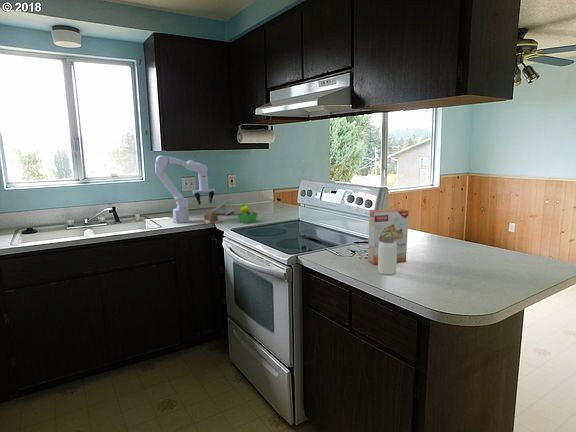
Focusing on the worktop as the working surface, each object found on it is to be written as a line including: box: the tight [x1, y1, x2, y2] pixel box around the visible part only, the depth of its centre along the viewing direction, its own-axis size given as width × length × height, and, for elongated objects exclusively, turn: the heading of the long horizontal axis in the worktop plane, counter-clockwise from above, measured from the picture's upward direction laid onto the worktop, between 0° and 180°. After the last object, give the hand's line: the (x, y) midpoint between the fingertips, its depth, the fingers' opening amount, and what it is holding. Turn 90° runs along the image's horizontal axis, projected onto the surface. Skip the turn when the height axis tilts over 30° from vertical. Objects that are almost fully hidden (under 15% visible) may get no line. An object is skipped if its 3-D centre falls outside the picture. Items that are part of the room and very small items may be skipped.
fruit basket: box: [237, 203, 258, 224], centre depth 238 cm, size 11×9×11 cm
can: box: [377, 239, 397, 276], centre depth 138 cm, size 6×6×12 cm
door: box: [205, 209, 217, 221], centre depth 241 cm, size 2×10×6 cm, turn 33°
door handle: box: [211, 198, 235, 216], centre depth 271 cm, size 18×8×20 cm
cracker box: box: [367, 208, 409, 265], centre depth 150 cm, size 14×6×21 cm, turn 100°
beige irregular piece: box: [199, 214, 223, 225], centre depth 242 cm, size 10×12×4 cm
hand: (205, 203), depth 248 cm, fingers open, 7 cm apart
